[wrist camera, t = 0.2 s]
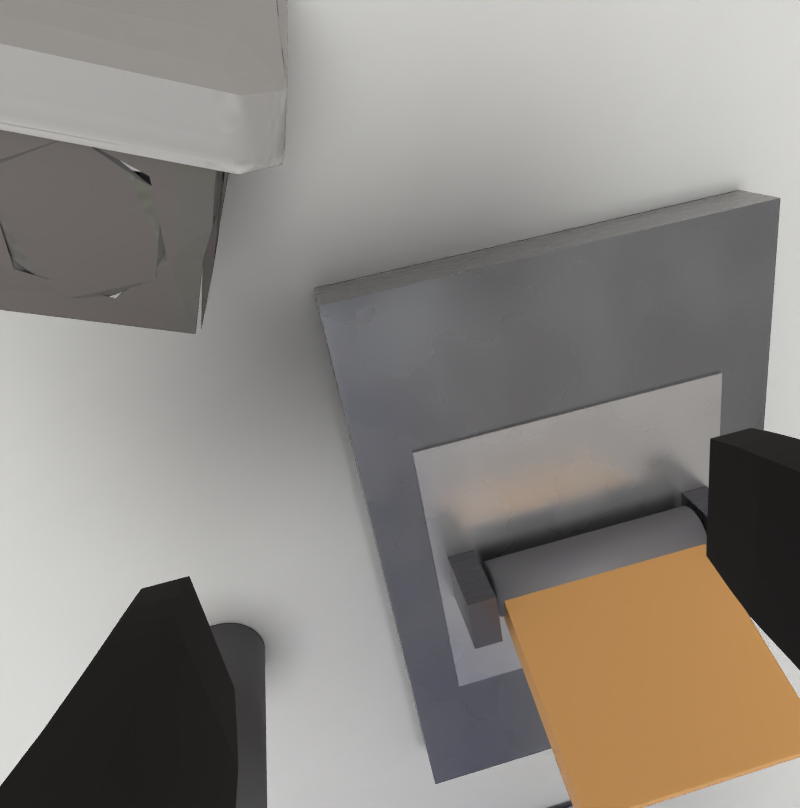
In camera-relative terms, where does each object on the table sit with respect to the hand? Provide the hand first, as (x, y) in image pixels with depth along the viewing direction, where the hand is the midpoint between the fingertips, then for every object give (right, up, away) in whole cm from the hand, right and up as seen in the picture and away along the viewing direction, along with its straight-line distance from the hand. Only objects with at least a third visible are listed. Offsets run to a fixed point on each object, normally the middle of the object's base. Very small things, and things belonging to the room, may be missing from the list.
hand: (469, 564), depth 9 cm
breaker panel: (+4, -1, +13) cm, 14 cm away
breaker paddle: (+5, -2, +10) cm, 12 cm away
